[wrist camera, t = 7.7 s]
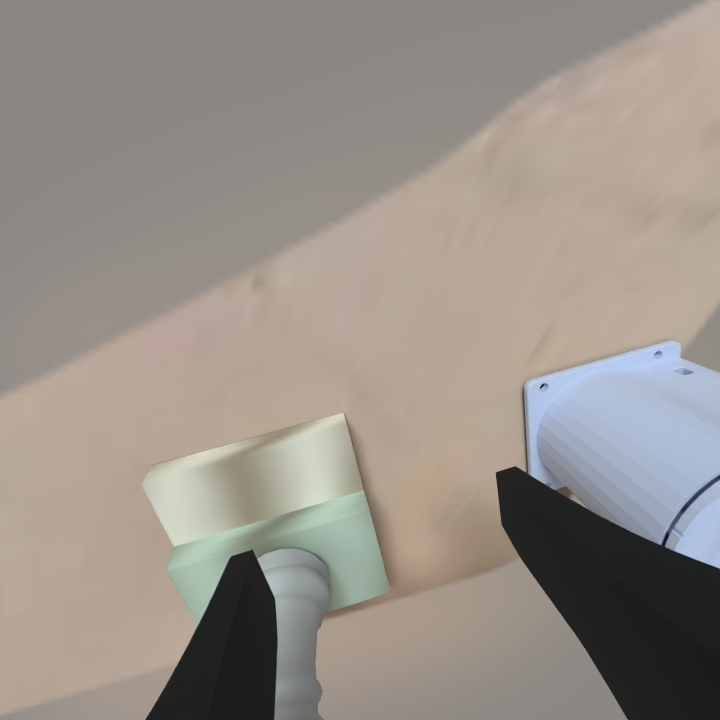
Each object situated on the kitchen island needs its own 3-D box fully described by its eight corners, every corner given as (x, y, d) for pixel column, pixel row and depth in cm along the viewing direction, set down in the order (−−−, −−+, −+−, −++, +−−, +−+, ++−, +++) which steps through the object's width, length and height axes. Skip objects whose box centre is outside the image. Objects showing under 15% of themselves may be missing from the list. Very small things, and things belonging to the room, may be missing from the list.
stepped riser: (343, 412, 21) (352, 443, 18) (378, 549, 25) (390, 592, 22) (151, 466, 20) (130, 507, 18) (218, 599, 24) (210, 650, 21)
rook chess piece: (329, 600, 22) (354, 802, 14) (243, 614, 21) (224, 836, 14) (326, 535, 20) (353, 726, 13) (233, 549, 19) (204, 760, 12)
